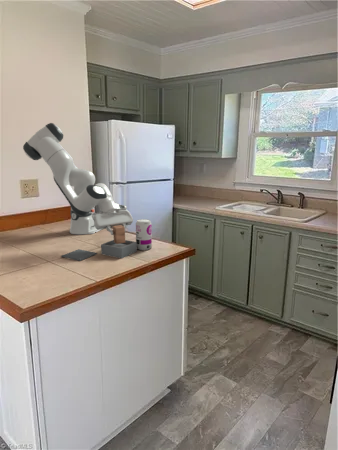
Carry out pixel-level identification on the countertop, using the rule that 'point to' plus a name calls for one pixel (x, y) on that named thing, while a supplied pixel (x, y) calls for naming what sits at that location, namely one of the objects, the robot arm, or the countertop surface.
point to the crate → (118, 248)
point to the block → (119, 234)
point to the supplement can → (144, 234)
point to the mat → (79, 254)
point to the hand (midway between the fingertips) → (118, 233)
